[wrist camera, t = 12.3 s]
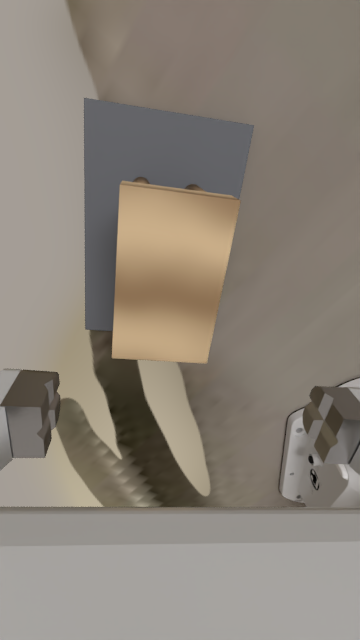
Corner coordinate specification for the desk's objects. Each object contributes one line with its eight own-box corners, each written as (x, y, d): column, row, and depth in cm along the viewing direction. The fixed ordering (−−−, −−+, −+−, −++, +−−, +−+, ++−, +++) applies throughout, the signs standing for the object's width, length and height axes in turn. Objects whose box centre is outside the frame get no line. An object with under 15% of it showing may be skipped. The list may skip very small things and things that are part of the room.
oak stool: (128, 170, 24) (119, 184, 15) (207, 181, 25) (240, 200, 16) (121, 293, 29) (111, 358, 20) (188, 299, 30) (206, 363, 21)
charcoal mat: (210, 333, 33) (211, 337, 32) (86, 325, 31) (85, 329, 30) (250, 125, 24) (253, 125, 24) (85, 99, 23) (83, 97, 22)
